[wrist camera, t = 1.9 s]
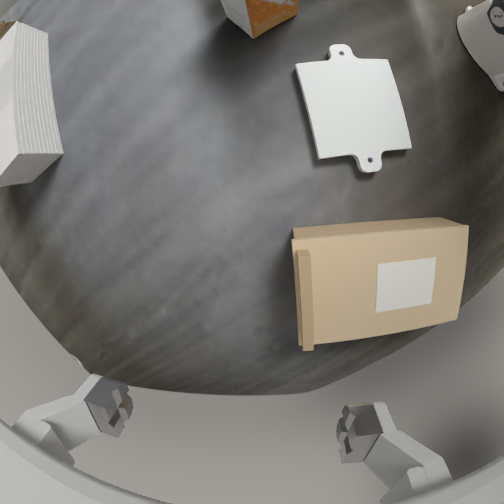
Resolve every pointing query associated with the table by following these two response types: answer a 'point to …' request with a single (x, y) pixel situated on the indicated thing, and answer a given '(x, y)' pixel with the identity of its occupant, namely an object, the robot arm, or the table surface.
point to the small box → (259, 13)
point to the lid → (377, 282)
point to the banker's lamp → (5, 27)
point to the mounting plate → (353, 107)
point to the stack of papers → (26, 106)
